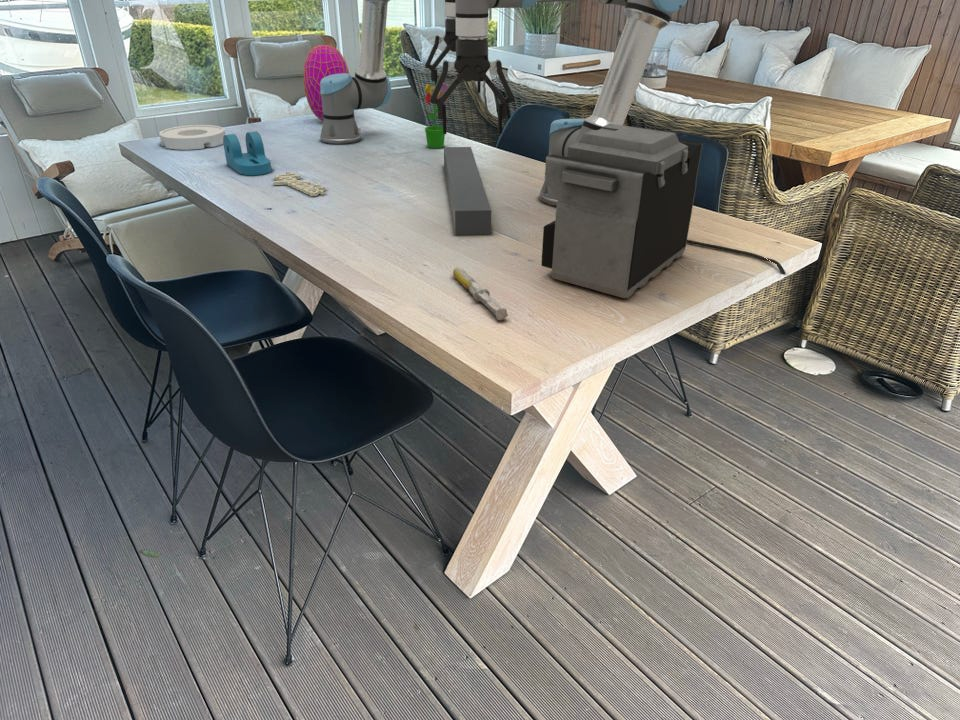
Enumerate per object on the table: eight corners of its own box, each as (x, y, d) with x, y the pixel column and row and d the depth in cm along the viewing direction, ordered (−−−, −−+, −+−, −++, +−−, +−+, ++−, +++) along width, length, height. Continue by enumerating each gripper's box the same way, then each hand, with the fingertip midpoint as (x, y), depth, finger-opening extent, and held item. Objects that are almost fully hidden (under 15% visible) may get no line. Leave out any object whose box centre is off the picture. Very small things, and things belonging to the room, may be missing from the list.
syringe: (449, 274, 155) (449, 263, 153) (465, 272, 156) (464, 260, 154) (490, 323, 135) (491, 310, 133) (508, 319, 136) (508, 307, 134)
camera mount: (227, 164, 233) (221, 132, 227) (257, 160, 238) (252, 129, 233) (244, 176, 220) (239, 143, 215) (276, 172, 225) (271, 139, 220)
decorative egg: (337, 115, 306) (331, 41, 291) (362, 122, 294) (356, 45, 279) (299, 120, 295) (290, 44, 280) (323, 128, 283) (315, 49, 267)
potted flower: (429, 149, 253) (427, 77, 241) (420, 145, 259) (418, 74, 247) (452, 147, 257) (451, 75, 245) (443, 142, 263) (442, 72, 250)
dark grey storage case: (608, 233, 179) (621, 113, 163) (689, 253, 168) (712, 126, 152) (533, 279, 153) (540, 141, 138) (624, 305, 142) (643, 159, 127)
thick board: (490, 234, 178) (491, 210, 174) (455, 235, 177) (455, 210, 174) (470, 166, 235) (470, 146, 232) (444, 166, 235) (443, 147, 231)
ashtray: (176, 134, 270) (174, 124, 268) (235, 135, 269) (233, 125, 267) (150, 149, 250) (147, 137, 248) (213, 150, 249) (211, 139, 247)
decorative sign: (262, 176, 218) (290, 170, 223) (262, 179, 218) (291, 173, 224) (303, 195, 201) (333, 189, 206) (303, 198, 201) (333, 192, 207)
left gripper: (497, 17, 212) (495, 90, 223) (416, 16, 210) (418, 90, 221) (499, 19, 205) (497, 94, 216) (416, 18, 203) (418, 94, 214)
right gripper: (523, 35, 162) (520, 128, 173) (417, 36, 160) (421, 130, 171) (528, 39, 156) (524, 135, 167) (417, 39, 154) (421, 136, 165)
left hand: (457, 92), depth 219 cm, fingers open, 13 cm apart
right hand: (472, 132), depth 169 cm, fingers open, 13 cm apart
